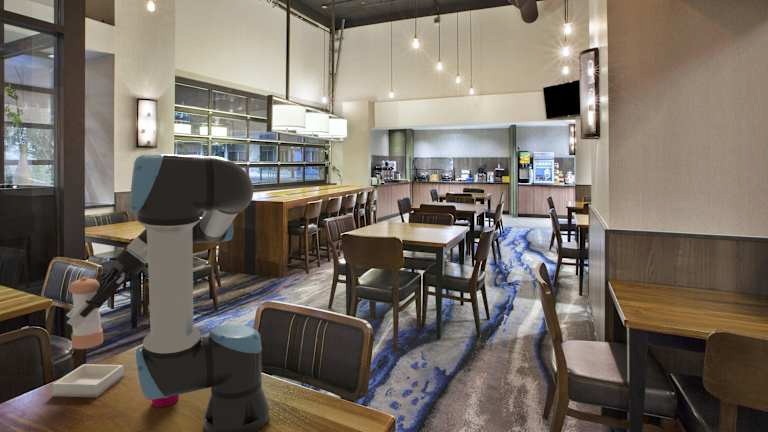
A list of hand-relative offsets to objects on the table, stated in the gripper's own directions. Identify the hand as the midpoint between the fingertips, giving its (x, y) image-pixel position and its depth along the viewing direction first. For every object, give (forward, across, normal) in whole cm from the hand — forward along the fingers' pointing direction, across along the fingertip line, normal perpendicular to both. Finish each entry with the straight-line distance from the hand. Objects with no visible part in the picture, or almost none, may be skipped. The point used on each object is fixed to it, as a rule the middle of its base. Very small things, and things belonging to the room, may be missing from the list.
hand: (71, 321), depth 119 cm
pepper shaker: (+3, 0, -8) cm, 8 cm away
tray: (+11, -1, -16) cm, 20 cm away
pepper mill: (0, -22, -27) cm, 35 cm away
